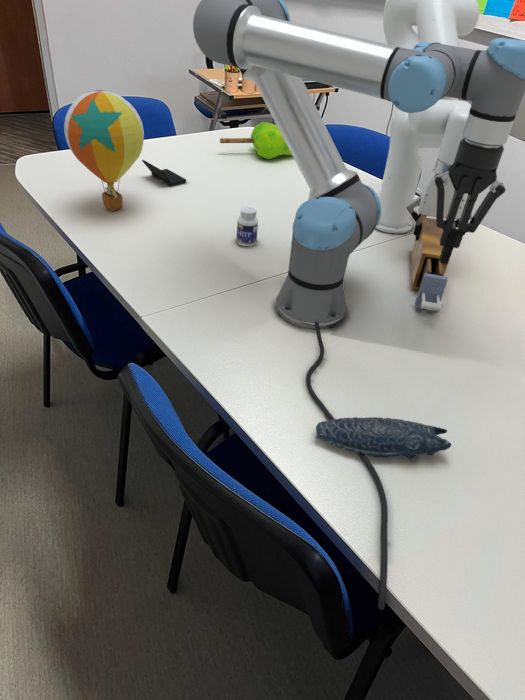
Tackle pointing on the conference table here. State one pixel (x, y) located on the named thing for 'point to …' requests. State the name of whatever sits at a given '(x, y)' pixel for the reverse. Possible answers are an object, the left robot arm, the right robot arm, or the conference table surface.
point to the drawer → (431, 285)
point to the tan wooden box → (426, 249)
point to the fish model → (382, 436)
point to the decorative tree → (264, 141)
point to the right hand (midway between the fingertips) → (430, 239)
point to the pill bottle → (247, 227)
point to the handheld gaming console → (165, 175)
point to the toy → (105, 138)
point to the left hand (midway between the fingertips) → (443, 260)
